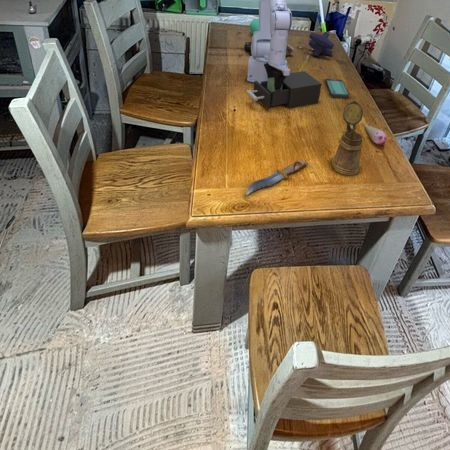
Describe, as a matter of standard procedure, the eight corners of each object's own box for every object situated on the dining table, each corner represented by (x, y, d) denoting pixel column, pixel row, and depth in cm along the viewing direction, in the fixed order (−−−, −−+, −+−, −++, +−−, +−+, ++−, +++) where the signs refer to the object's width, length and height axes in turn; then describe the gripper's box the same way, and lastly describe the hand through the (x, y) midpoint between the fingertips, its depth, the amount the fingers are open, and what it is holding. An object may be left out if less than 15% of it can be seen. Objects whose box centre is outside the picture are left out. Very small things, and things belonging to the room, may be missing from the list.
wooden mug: (355, 152, 132) (369, 101, 120) (360, 176, 123) (376, 124, 110) (329, 149, 131) (340, 98, 119) (332, 173, 122) (345, 121, 109)
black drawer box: (288, 108, 148) (291, 88, 143) (273, 94, 154) (275, 75, 149) (318, 102, 154) (321, 83, 149) (302, 89, 161) (304, 70, 156)
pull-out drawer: (256, 110, 142) (257, 95, 138) (243, 97, 147) (244, 82, 143) (295, 103, 149) (297, 89, 145) (281, 91, 155) (283, 77, 151)
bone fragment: (295, 51, 182) (288, 41, 179) (285, 59, 183) (278, 50, 180) (288, 44, 193) (281, 35, 189) (278, 52, 194) (272, 43, 190)
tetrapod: (309, 26, 181) (333, 25, 181) (308, 38, 193) (331, 37, 193) (310, 51, 181) (334, 50, 181) (309, 61, 193) (332, 61, 193)
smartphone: (341, 79, 170) (349, 95, 160) (341, 82, 171) (348, 98, 161) (325, 78, 169) (331, 94, 158) (324, 80, 170) (331, 97, 159)
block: (272, 93, 144) (273, 82, 142) (266, 88, 147) (267, 78, 144) (281, 91, 146) (282, 81, 143) (276, 87, 148) (277, 76, 146)
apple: (319, 47, 200) (319, 24, 194) (329, 48, 196) (330, 26, 191) (310, 48, 196) (310, 26, 190) (321, 50, 192) (321, 27, 186)
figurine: (297, 43, 198) (297, 41, 198) (301, 43, 199) (301, 41, 198) (298, 49, 193) (299, 47, 192) (302, 49, 193) (302, 47, 192)
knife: (239, 192, 110) (252, 202, 108) (239, 188, 109) (252, 199, 107) (296, 157, 124) (308, 165, 123) (297, 154, 123) (309, 162, 122)
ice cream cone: (361, 133, 147) (379, 150, 136) (356, 123, 144) (374, 139, 132) (372, 126, 147) (391, 142, 135) (367, 115, 144) (387, 131, 132)
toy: (271, 48, 194) (266, 29, 201) (273, 33, 187) (268, 14, 194) (252, 48, 192) (248, 29, 199) (253, 32, 185) (249, 13, 192)
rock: (259, 46, 188) (240, 49, 184) (259, 38, 185) (240, 40, 181) (273, 56, 180) (253, 59, 176) (273, 47, 178) (253, 50, 173)
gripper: (299, 56, 134) (294, 93, 143) (277, 40, 142) (273, 76, 151) (281, 58, 131) (277, 96, 140) (260, 41, 139) (257, 79, 148)
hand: (274, 86), depth 145 cm, fingers closed on block, 4 cm apart
